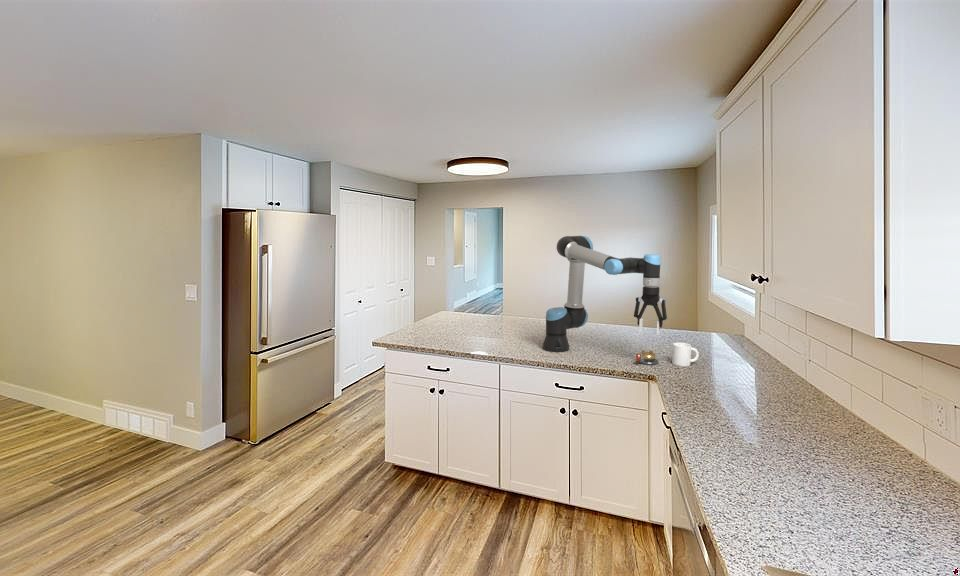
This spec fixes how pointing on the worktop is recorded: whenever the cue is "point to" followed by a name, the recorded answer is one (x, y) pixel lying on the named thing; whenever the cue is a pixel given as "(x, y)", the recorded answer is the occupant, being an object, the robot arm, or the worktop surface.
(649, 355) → the gold rounded piece
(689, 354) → the mug
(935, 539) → the worktop surface
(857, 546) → the worktop surface
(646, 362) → the base plate
